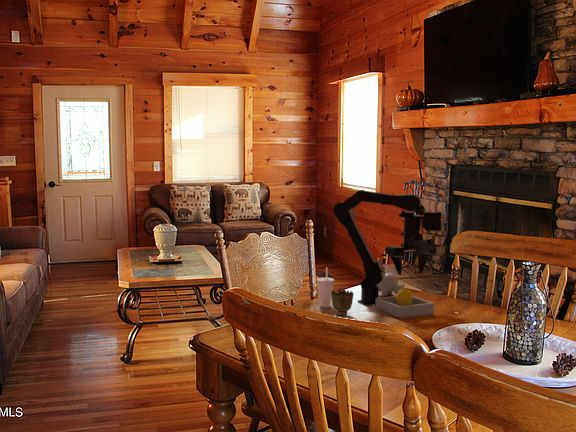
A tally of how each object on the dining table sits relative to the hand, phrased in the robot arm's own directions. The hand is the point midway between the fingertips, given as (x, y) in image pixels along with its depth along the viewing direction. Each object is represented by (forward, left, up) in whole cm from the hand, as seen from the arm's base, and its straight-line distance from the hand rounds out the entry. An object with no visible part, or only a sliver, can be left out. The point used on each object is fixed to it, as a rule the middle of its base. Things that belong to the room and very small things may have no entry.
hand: (410, 273), depth 218 cm
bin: (+5, -6, -12) cm, 14 cm away
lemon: (+5, -6, -12) cm, 14 cm away
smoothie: (-13, -27, -12) cm, 32 cm away
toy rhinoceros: (-16, +4, -12) cm, 21 cm away
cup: (0, -28, -12) cm, 31 cm away
